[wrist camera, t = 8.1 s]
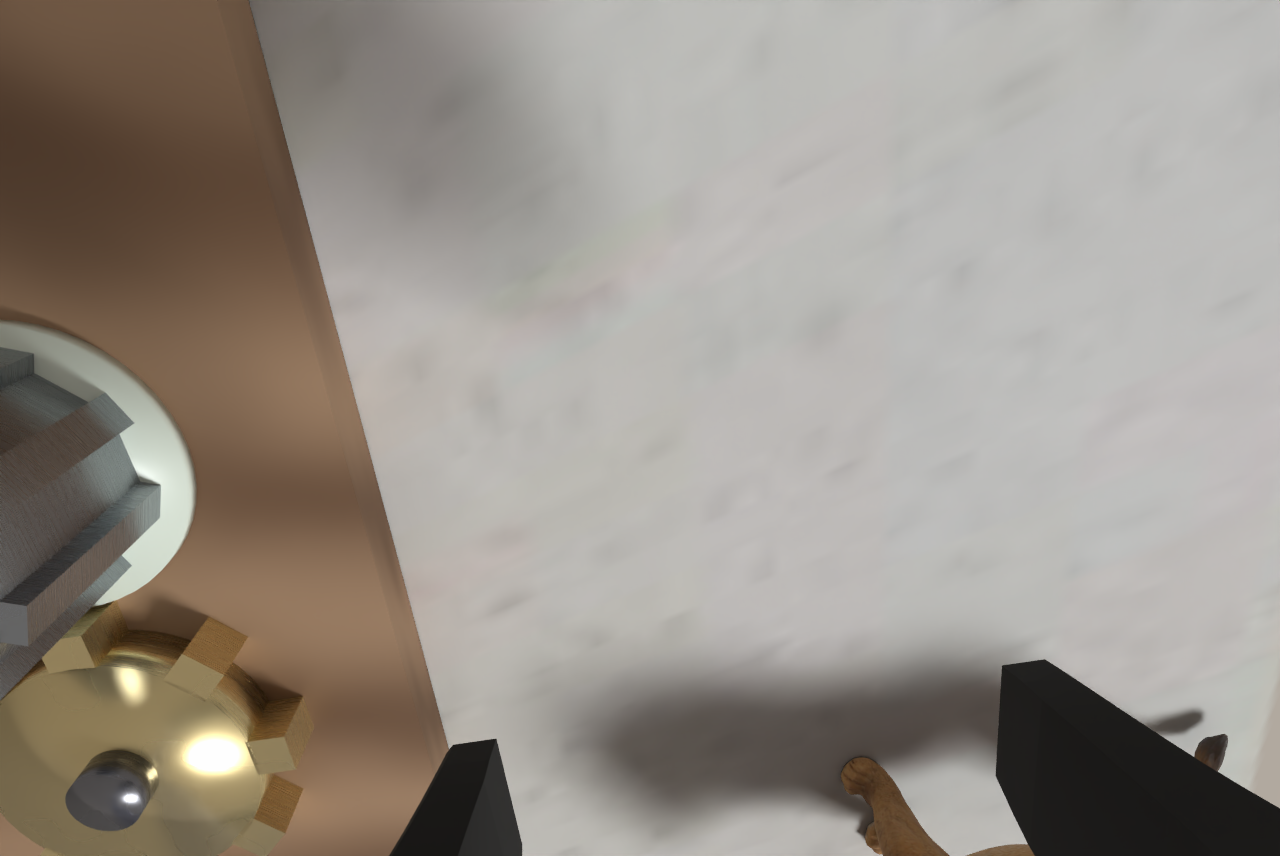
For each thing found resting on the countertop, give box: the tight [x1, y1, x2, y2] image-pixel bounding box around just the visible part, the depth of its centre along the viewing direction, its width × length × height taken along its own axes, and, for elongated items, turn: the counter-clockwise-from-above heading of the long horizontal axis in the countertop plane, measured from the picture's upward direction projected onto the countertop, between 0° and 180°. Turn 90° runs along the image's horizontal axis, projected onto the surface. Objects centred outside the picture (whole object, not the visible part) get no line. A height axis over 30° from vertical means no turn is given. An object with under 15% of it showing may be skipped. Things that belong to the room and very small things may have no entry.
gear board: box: [0, 0, 449, 856], centre depth 17 cm, size 23×13×4 cm, turn 7°
